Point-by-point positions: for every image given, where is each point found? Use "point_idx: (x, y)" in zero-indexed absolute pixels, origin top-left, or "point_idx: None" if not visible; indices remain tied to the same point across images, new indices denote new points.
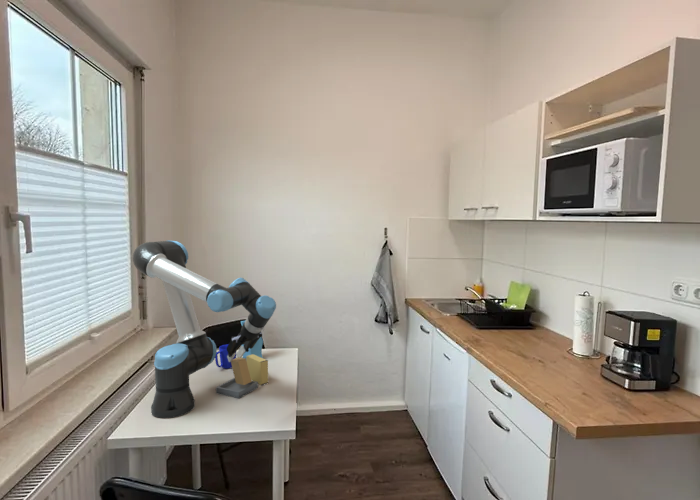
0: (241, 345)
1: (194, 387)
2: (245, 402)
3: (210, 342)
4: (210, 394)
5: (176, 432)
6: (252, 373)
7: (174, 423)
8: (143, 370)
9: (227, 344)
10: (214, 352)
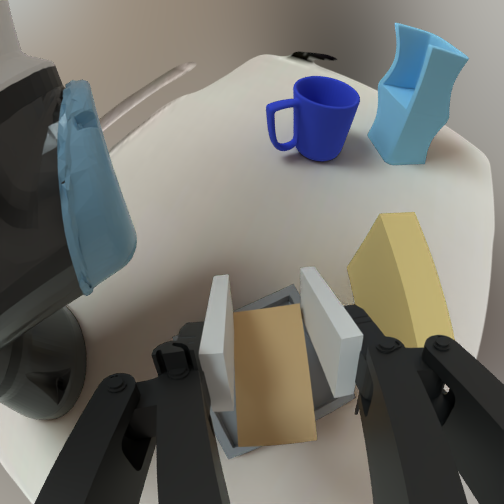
0: (378, 94)
1: (148, 239)
2: (236, 496)
3: (48, 171)
4: (158, 338)
5: (20, 480)
6: (367, 301)
7: (22, 440)
8: (136, 92)
9: (331, 78)
10: (91, 255)
